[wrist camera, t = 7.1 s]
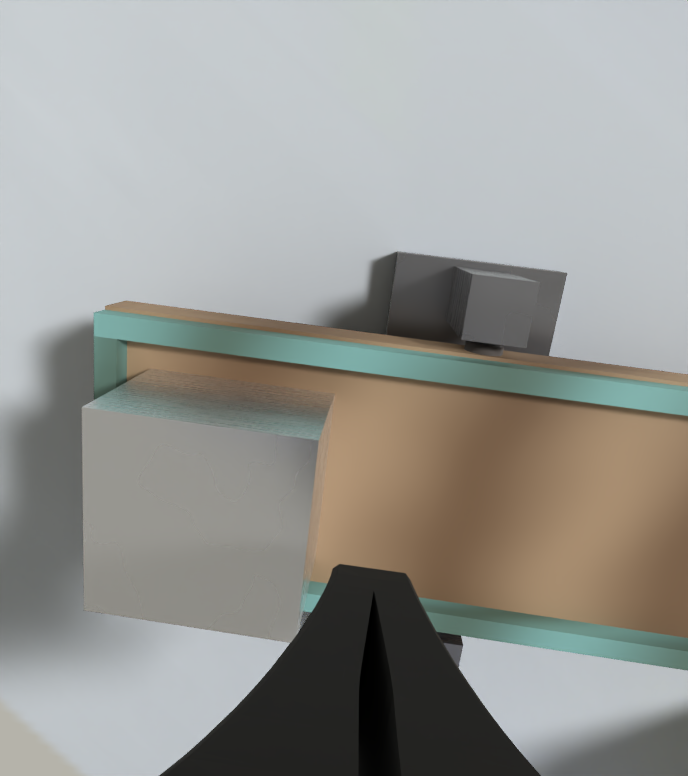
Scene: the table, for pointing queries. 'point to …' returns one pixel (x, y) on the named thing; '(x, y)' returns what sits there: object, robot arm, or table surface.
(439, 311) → the beam stand
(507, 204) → the table surface
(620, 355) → the table surface
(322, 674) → the robot arm
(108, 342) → the balance beam
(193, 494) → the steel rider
